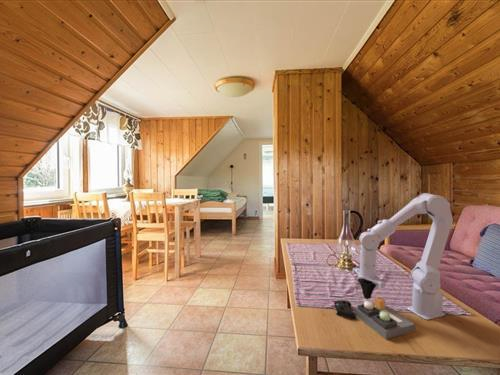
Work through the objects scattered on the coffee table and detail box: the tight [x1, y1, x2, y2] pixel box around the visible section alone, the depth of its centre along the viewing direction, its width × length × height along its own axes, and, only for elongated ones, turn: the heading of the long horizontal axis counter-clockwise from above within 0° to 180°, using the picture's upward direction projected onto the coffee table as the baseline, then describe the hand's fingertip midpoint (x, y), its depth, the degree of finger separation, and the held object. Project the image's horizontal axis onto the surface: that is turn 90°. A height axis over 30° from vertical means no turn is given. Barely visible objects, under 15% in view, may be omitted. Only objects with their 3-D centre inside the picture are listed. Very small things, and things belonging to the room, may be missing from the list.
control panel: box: [354, 303, 416, 340], centre depth 86 cm, size 12×14×4 cm
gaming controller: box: [333, 299, 357, 320], centre depth 93 cm, size 10×5×6 cm
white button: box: [363, 300, 374, 311], centre depth 88 cm, size 3×3×2 cm
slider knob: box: [374, 296, 386, 309], centre depth 90 cm, size 2×2×3 cm
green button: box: [380, 312, 390, 322], centre depth 81 cm, size 3×3×2 cm
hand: (367, 297), depth 96 cm, fingers closed
